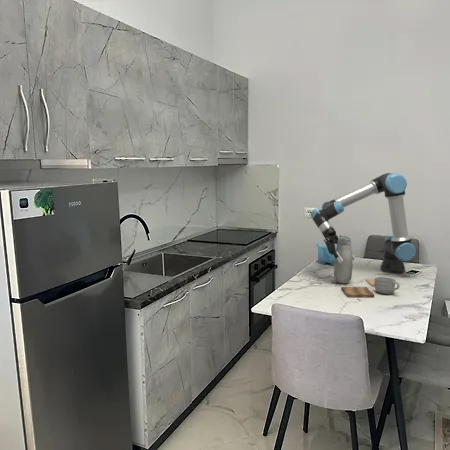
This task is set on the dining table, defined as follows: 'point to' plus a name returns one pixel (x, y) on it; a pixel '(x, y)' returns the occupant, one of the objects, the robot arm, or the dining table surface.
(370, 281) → the terracotta tile
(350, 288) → the walnut board
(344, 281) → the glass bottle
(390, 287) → the teacup
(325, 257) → the teakettle
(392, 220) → the robot arm
